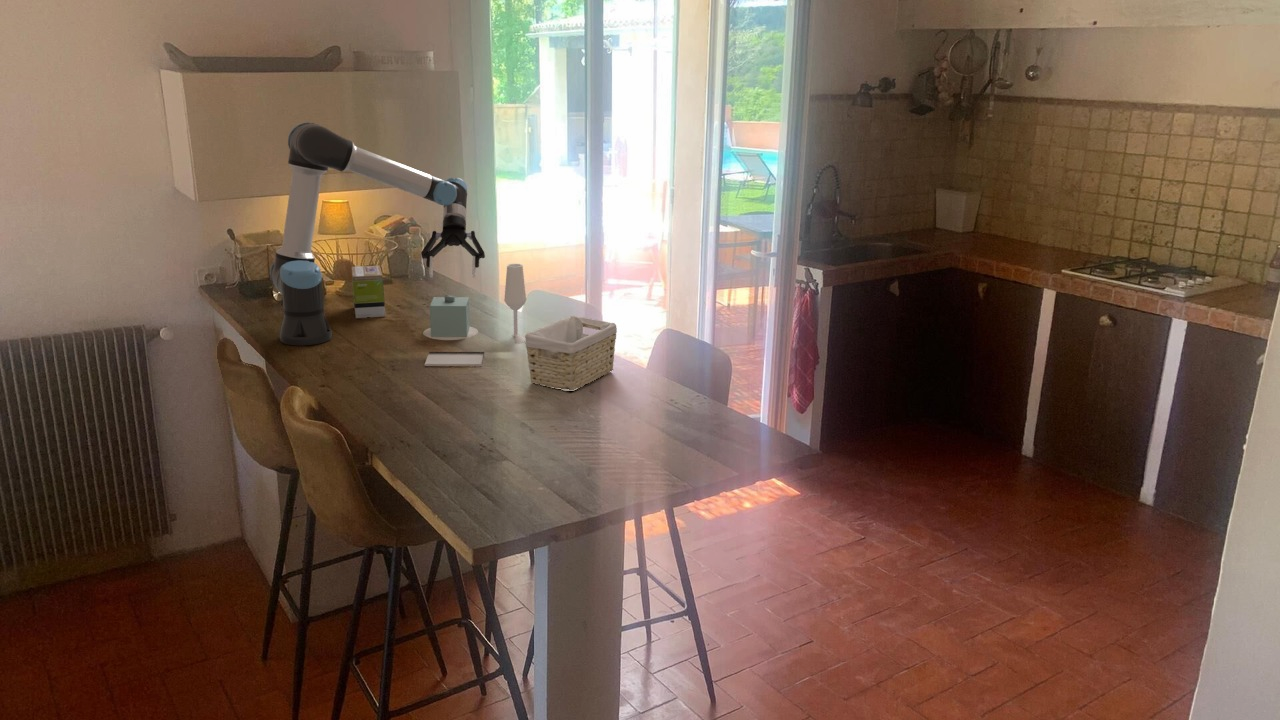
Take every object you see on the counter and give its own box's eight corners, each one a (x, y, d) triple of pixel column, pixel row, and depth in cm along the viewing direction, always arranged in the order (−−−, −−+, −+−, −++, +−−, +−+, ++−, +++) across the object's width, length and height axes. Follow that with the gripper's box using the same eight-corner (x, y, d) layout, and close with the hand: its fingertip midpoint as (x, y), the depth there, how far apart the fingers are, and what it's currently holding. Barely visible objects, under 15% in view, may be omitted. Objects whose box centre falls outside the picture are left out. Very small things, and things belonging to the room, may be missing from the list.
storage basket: (571, 396, 251) (571, 343, 247) (522, 384, 259) (521, 333, 255) (618, 372, 271) (619, 323, 267) (571, 362, 279) (572, 314, 274)
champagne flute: (530, 339, 299) (530, 265, 291) (516, 344, 294) (515, 268, 286) (514, 335, 302) (513, 262, 295) (500, 340, 297) (499, 265, 290)
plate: (446, 347, 288) (446, 332, 286) (412, 336, 298) (411, 321, 297) (489, 336, 301) (488, 321, 299) (454, 326, 311) (454, 311, 309)
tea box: (353, 307, 329) (350, 265, 325) (383, 305, 332) (381, 264, 328) (354, 318, 316) (352, 275, 311) (386, 317, 319) (383, 274, 314)
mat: (481, 366, 272) (481, 363, 272) (424, 366, 271) (424, 364, 270) (484, 349, 287) (484, 347, 287) (431, 349, 286) (431, 347, 286)
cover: (466, 337, 294) (465, 301, 291) (430, 337, 293) (429, 300, 290) (469, 327, 305) (468, 292, 301) (435, 327, 304) (433, 292, 300)
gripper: (493, 227, 318) (492, 281, 309) (417, 227, 316) (414, 281, 307) (491, 214, 312) (490, 269, 302) (414, 214, 309) (411, 269, 300)
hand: (452, 275), depth 304 cm, fingers open, 13 cm apart
